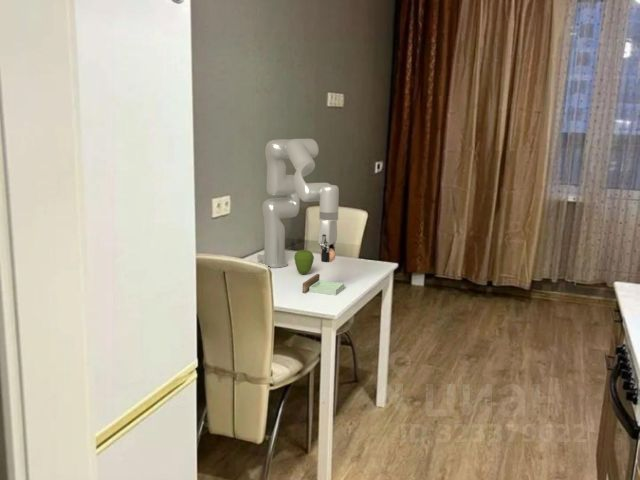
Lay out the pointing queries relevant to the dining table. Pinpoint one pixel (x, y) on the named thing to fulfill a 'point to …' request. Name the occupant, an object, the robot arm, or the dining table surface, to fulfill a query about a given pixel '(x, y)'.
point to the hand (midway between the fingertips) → (328, 259)
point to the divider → (310, 283)
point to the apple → (303, 261)
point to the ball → (331, 254)
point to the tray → (326, 287)
